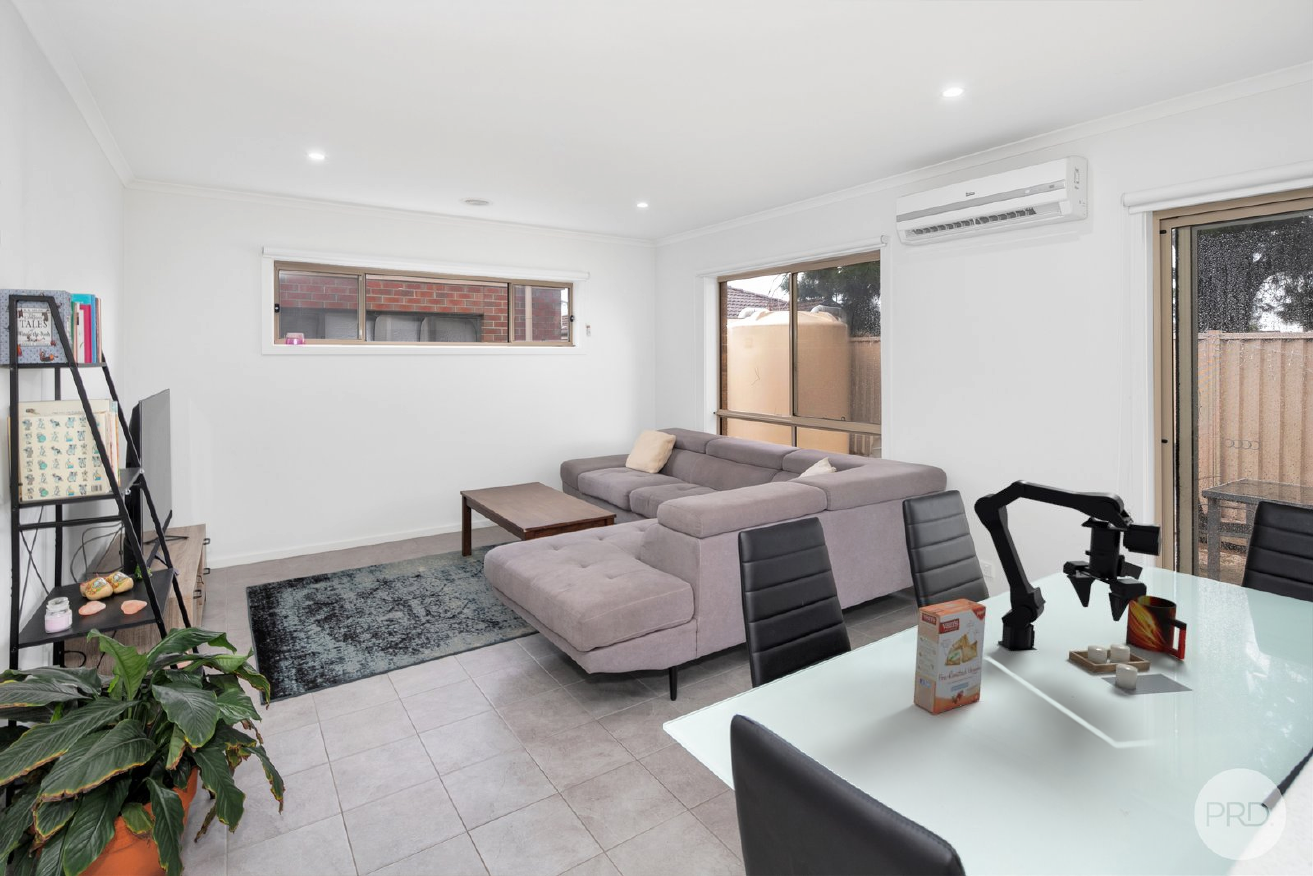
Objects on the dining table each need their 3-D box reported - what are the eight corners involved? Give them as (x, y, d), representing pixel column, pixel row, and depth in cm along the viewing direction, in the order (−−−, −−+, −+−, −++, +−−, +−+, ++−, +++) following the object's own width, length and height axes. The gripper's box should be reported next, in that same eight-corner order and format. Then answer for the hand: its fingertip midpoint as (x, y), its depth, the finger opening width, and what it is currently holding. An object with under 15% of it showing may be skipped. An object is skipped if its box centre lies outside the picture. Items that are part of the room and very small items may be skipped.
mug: (1182, 665, 161) (1186, 616, 160) (1118, 645, 173) (1121, 599, 172) (1200, 656, 166) (1204, 608, 165) (1136, 637, 178) (1140, 592, 177)
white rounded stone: (1125, 689, 147) (1126, 672, 146) (1110, 681, 151) (1112, 664, 150) (1140, 688, 147) (1142, 671, 147) (1126, 680, 151) (1127, 663, 151)
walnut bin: (1094, 676, 155) (1095, 665, 155) (1068, 661, 163) (1069, 651, 163) (1149, 672, 157) (1149, 662, 157) (1121, 658, 165) (1121, 648, 165)
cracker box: (936, 717, 137) (940, 616, 135) (912, 703, 142) (916, 606, 140) (982, 701, 143) (987, 605, 141) (958, 689, 149) (962, 596, 147)
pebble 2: (1124, 668, 158) (1124, 651, 157) (1106, 662, 161) (1107, 646, 161) (1133, 664, 160) (1133, 647, 159) (1115, 659, 163) (1115, 642, 163)
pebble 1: (1095, 669, 157) (1096, 652, 157) (1083, 662, 161) (1083, 646, 161) (1110, 668, 158) (1111, 651, 158) (1097, 661, 162) (1098, 644, 161)
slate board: (1130, 698, 145) (1130, 694, 145) (1100, 681, 153) (1101, 677, 153) (1192, 693, 147) (1192, 690, 147) (1160, 677, 155) (1160, 673, 155)
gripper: (1171, 557, 149) (1166, 627, 150) (1104, 537, 167) (1100, 599, 169) (1125, 559, 147) (1120, 629, 149) (1063, 538, 166) (1059, 601, 167)
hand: (1100, 613), depth 158 cm, fingers open, 9 cm apart
